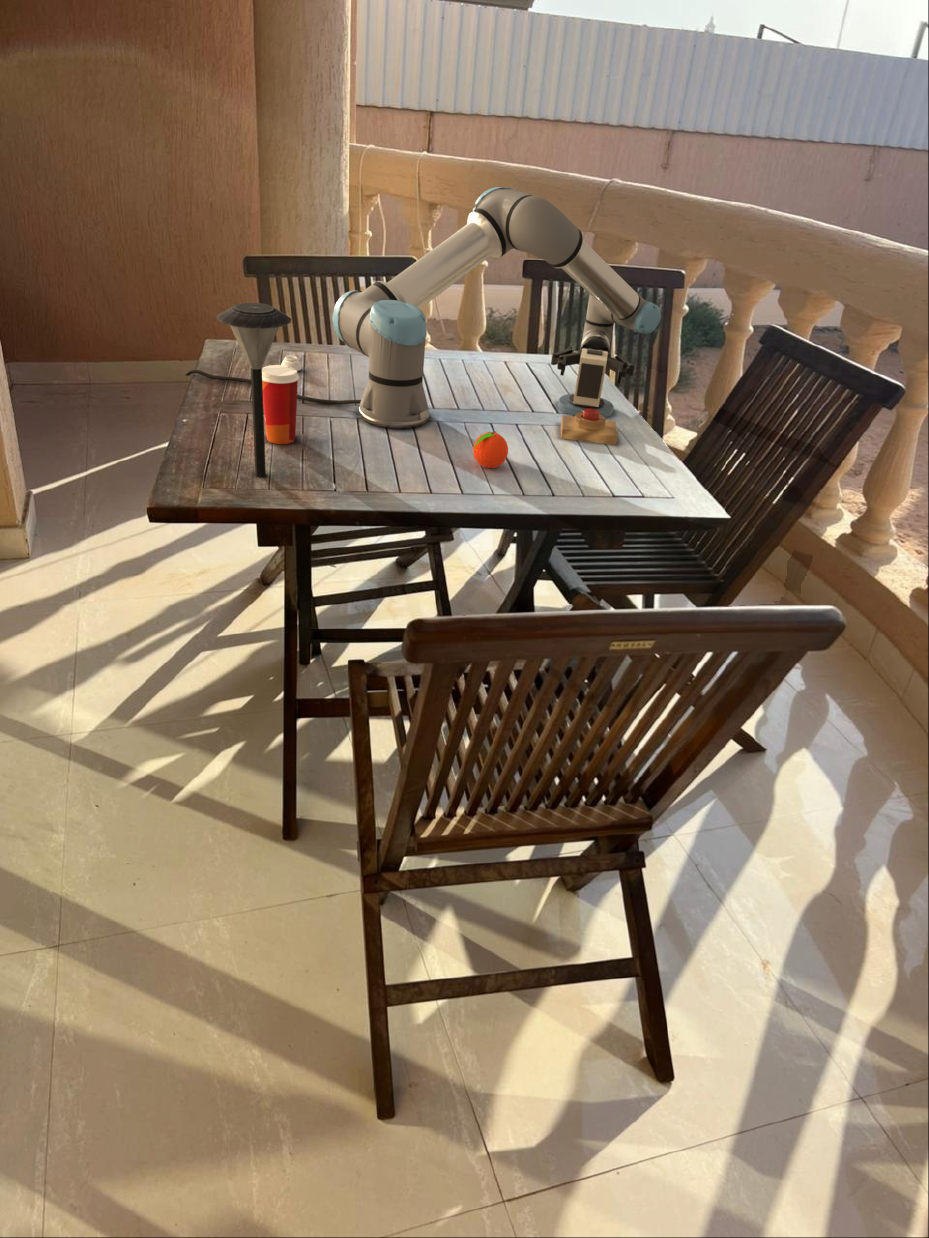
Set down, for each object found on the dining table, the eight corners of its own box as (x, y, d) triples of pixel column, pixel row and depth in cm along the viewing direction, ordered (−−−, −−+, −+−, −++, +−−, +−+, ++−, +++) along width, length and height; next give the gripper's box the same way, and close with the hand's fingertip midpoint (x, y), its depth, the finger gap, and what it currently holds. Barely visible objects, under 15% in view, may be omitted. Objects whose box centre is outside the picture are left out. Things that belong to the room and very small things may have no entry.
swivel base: (558, 415, 203) (559, 408, 202) (557, 397, 214) (558, 391, 213) (614, 421, 203) (615, 415, 202) (610, 403, 214) (611, 397, 213)
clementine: (483, 477, 169) (487, 442, 165) (460, 465, 173) (463, 430, 170) (513, 469, 174) (517, 435, 170) (489, 457, 178) (493, 423, 174)
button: (582, 420, 191) (583, 413, 190) (582, 415, 194) (583, 407, 193) (598, 422, 191) (600, 414, 190) (598, 417, 194) (599, 409, 193)
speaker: (570, 393, 211) (577, 345, 205) (604, 398, 211) (613, 350, 204) (567, 405, 204) (575, 355, 198) (603, 410, 203) (612, 360, 197)
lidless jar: (305, 371, 214) (294, 365, 216) (305, 359, 212) (294, 353, 215) (288, 374, 211) (276, 368, 213) (287, 361, 209) (276, 356, 212)
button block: (560, 438, 191) (563, 421, 188) (560, 424, 198) (563, 407, 196) (615, 445, 190) (619, 427, 188) (613, 430, 198) (616, 413, 196)
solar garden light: (298, 487, 158) (296, 318, 142) (228, 490, 155) (217, 316, 138) (290, 460, 168) (286, 299, 151) (224, 462, 164) (213, 297, 148)
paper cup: (285, 429, 181) (284, 361, 173) (307, 441, 177) (307, 372, 169) (253, 436, 176) (250, 367, 168) (275, 449, 172) (273, 379, 164)
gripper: (640, 371, 227) (640, 396, 209) (544, 358, 229) (537, 382, 211) (646, 342, 222) (646, 365, 205) (549, 329, 225) (541, 350, 207)
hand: (591, 374), depth 208 cm, fingers open, 13 cm apart
